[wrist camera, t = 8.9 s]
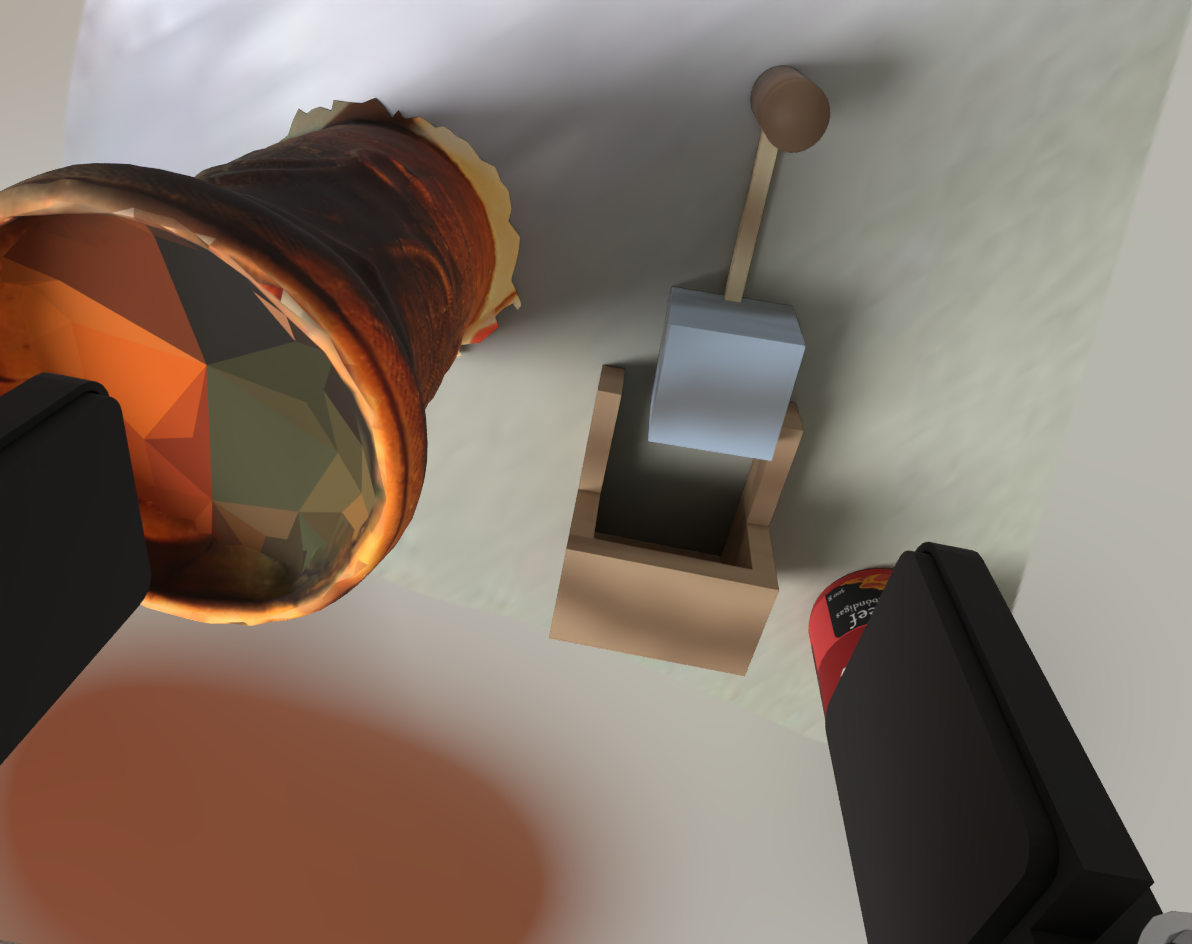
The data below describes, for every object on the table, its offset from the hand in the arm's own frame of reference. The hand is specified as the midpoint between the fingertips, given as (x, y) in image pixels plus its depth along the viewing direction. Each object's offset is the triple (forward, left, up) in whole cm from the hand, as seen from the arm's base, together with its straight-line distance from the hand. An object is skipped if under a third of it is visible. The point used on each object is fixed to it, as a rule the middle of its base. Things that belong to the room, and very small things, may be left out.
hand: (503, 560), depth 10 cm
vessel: (+7, -11, -31) cm, 33 cm away
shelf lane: (+17, +6, -30) cm, 35 cm away
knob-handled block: (+4, +6, -30) cm, 31 cm away
